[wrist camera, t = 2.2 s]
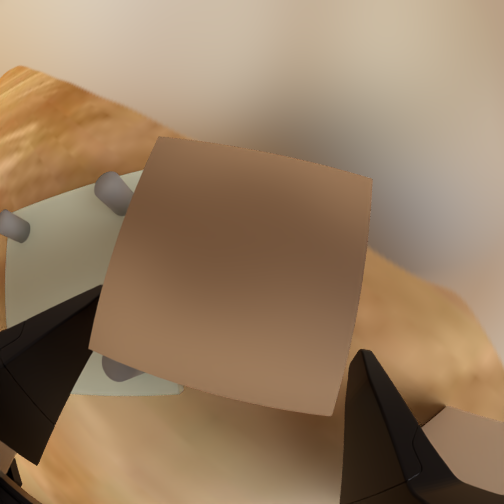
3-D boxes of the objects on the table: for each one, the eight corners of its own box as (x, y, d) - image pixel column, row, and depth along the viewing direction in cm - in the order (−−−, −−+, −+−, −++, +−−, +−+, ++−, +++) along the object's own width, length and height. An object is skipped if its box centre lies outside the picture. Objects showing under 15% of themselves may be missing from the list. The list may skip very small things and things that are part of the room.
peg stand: (183, 390, 17) (165, 406, 13) (23, 385, 16) (-8, 389, 12) (159, 174, 21) (142, 144, 17) (17, 217, 20) (-9, 201, 16)
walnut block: (281, 356, 18) (331, 416, 5) (192, 335, 18) (88, 348, 6) (300, 269, 19) (372, 179, 7) (214, 249, 19) (158, 136, 7)
